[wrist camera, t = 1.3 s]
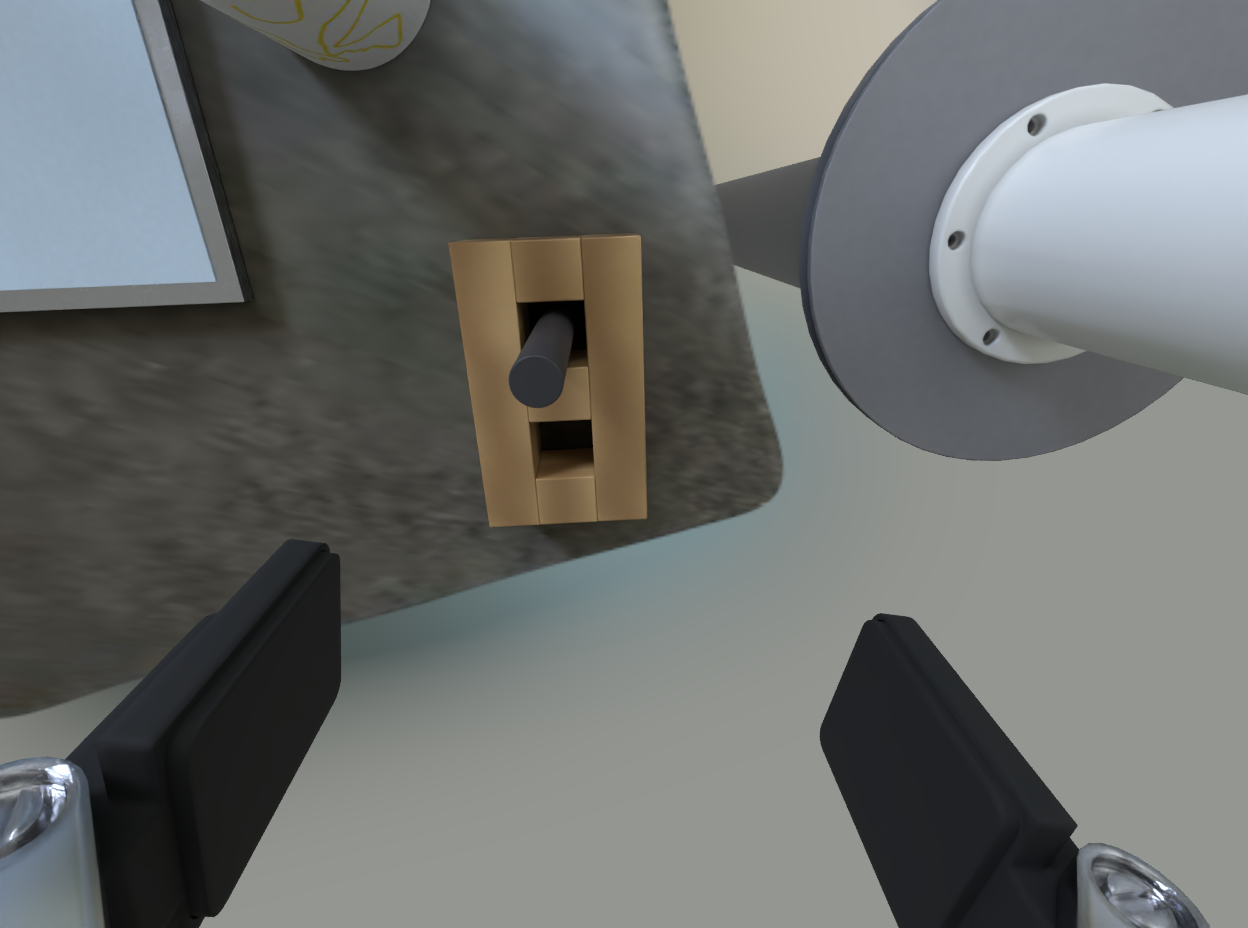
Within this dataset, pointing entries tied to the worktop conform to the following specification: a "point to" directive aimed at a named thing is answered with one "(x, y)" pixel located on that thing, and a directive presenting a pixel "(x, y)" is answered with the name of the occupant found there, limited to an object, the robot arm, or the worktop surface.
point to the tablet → (107, 163)
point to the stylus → (544, 359)
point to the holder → (594, 383)
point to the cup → (334, 27)
